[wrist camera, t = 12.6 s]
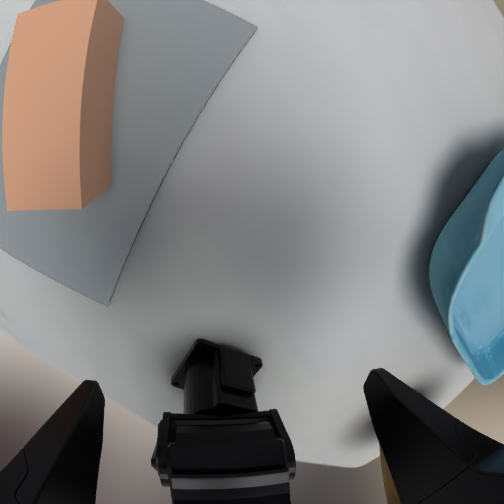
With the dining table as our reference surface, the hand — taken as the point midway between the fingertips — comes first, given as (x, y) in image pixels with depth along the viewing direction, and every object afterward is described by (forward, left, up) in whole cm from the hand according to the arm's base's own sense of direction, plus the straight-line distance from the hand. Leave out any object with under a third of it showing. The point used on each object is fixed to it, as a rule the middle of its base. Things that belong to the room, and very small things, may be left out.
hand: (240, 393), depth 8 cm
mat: (+2, +13, -13) cm, 18 cm away
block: (-1, +10, -10) cm, 14 cm away
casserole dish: (+12, -31, -14) cm, 36 cm away
